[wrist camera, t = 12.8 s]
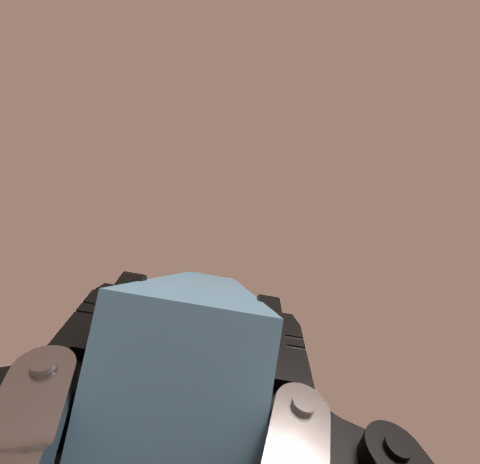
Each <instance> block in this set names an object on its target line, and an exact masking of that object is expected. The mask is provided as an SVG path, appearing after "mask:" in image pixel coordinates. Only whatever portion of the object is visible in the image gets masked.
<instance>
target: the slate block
mask: <svg viewBox="0 0 480 464" xmlns="http://www.w3.org/2000/svg"><path fill="white" fill-rule="evenodd" d="M282 326H283V318H282V317H280V316H279V315H278V314H277V313H275V312H274V311H273V310H272V309H271V308H269V307H268V306H267V305H266V304H264V303H263V302H260V301H259V300H258V299H257V297H256V296H254V295H253V294H252V293H251V292H249V291H248V290H247V289H245V288H244V287H243V286H242V285H241V284H239V283H238V282H237V281H236V280H234V279H231V278H226V277H220V276H214V275H208V274H203V273H197V272H191V271H190V272H185V273H179V274H174V275H168V276H163V277H158V278H153V279H147V280H145V281H136V282H130V283H125V284H120V285H114V286H109V287H103V288H99V292H98V296H97V301H96V305H95V309H94V314H93V318H92V323H91V327H90V332H89V336H88V341H87V345H86V350H85V354H84V358H83V363H82V367H81V372H80V376H79V381H78V385H77V390H76V394H75V399H74V403H73V408H72V412H71V416H70V421H69V425H68V430H67V434H66V439H65V443H64V448H63V452H62V457H61V461H60V464H259V463H260V458H261V454H262V449H263V445H264V440H265V435H266V431H267V425H268V419H269V412H270V405H271V399H272V392H273V386H274V379H275V372H276V366H277V359H278V353H279V346H280V339H281V333H282Z"/></svg>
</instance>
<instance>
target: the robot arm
mask: <svg viewBox="0 0 480 464" xmlns="http://www.w3.org/2000/svg"><path fill="white" fill-rule="evenodd" d="M145 280H147V276H146V275H143V274H137V273H131V272H123V273H122V274H121V276H120V277H119V279H118V280H117V281H116V283H115V284H114V285H120V284H125V283H130V282H136V281H145ZM114 285H113V284H107V283H104V284H103V285H101V286H99V287H98V288H96V289H94V290H92V291H91V292H90V294H89V295H88V296H87V297H86V299H85V300H84V301H83V303H81V305H80V306H79V307H78V308H77V310H76V312H74V313H73V315H72V316H71V317H70V318H69V320H68V321H67V322H66V323H65V325H64V326H63V327H62V328H61V329H60V331H59V332H58V333H57V334H56V335H55V337H54V338H53V339H52V340H51V342H50V343H49V344H48V345H47V346H42V347H39V348H35V349H33V350H30V351H28V352H27V353H25V354H23V355H22V356H20V357H19V358H18V359H17V360H16V361H15V362H14V363H13V364H12V365H11V366H7V367H0V464H60V461H61V457H62V452H63V448H64V443H65V439H66V434H67V430H68V425H69V421H70V416H71V412H72V408H73V403H74V399H75V394H76V390H77V385H78V381H79V376H80V372H81V367H82V363H83V358H84V354H85V350H86V345H87V341H88V336H89V332H90V327H91V323H92V318H93V314H94V309H95V305H96V301H97V296H98V292H99V288H103V287H109V286H114ZM257 299H258V300H259V301H260V302H263V303H264V304H266V305H267V306H268V307H269V308H271V309H272V310H273V311H274V312H275V313H277V314H278V315H279V316H280V317H282V318H283V326H282V333H281V339H280V346H279V353H278V359H277V366H276V372H275V379H274V386H273V392H272V399H271V405H270V412H269V419H268V425H267V431H266V435H265V440H264V445H263V449H262V454H261V458H260V463H259V464H434V463H433V461H432V460H431V459H430V458H429V456H428V455H427V454H426V453H425V451H424V450H423V449H422V447H421V446H420V445H419V443H418V442H417V441H416V440H415V439H414V438H413V437H412V436H411V435H410V434H409V433H408V432H407V431H405V430H404V429H402V428H401V427H399V426H398V425H396V424H394V423H391V422H388V421H382V420H377V421H374V422H371V423H370V424H369V425H368V426H367V428H366V429H363V428H361V427H359V426H357V425H355V424H353V423H350V422H348V421H346V420H344V419H342V418H340V417H338V416H337V415H335V414H334V413H332V412H331V411H330V409H329V407H328V404H327V403H326V401H325V399H324V398H323V397H322V396H321V395H320V394H319V393H318V392H317V391H316V390H315V388H314V384H313V380H312V375H311V370H310V366H309V362H308V357H307V353H306V350H305V344H304V340H303V335H302V331H301V327H300V325H299V323H298V322H297V320H296V319H295V318H294V316H293V315H292V314H286V313H282V311H281V304H280V299H279V298H278V297H272V296H266V295H260V294H259V295H258V296H257Z"/></svg>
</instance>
